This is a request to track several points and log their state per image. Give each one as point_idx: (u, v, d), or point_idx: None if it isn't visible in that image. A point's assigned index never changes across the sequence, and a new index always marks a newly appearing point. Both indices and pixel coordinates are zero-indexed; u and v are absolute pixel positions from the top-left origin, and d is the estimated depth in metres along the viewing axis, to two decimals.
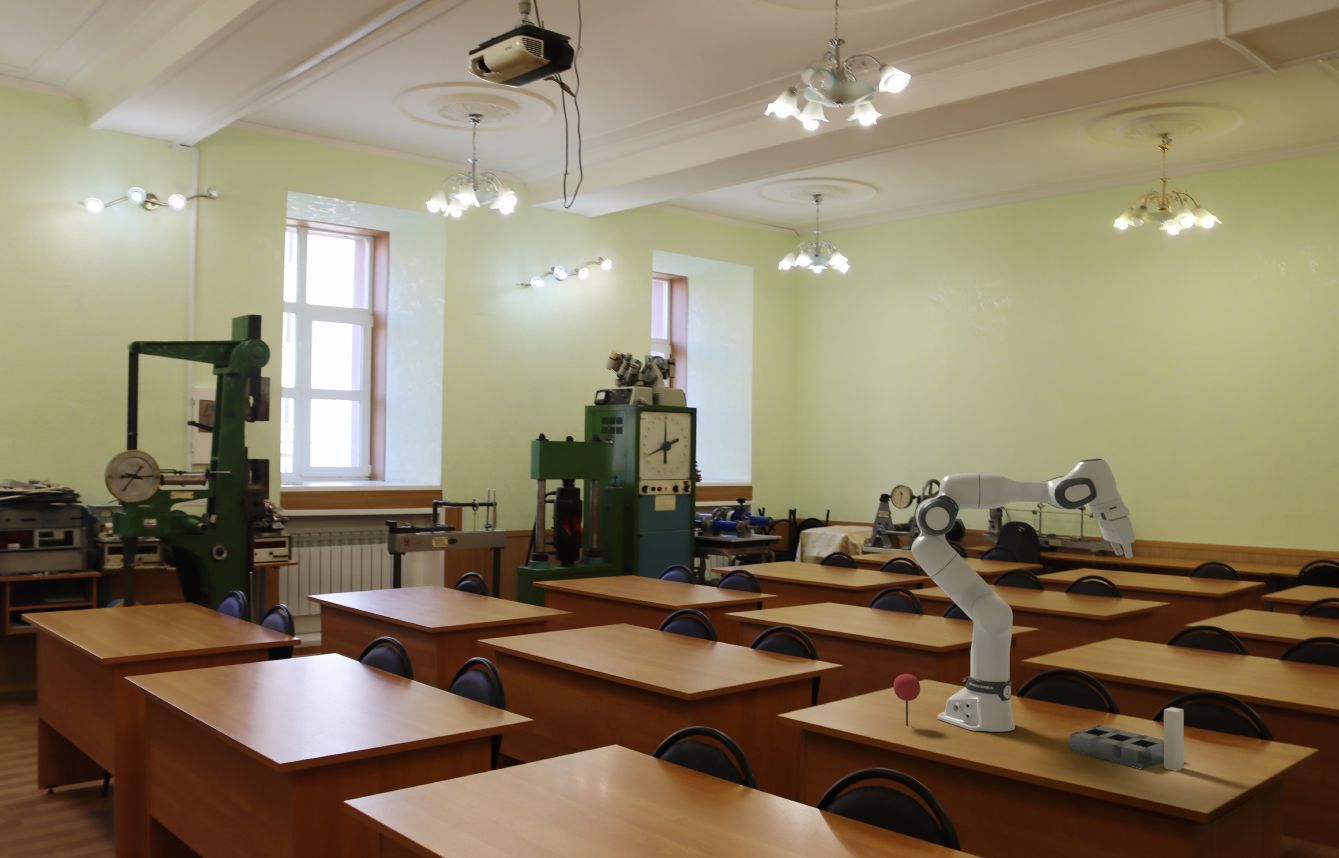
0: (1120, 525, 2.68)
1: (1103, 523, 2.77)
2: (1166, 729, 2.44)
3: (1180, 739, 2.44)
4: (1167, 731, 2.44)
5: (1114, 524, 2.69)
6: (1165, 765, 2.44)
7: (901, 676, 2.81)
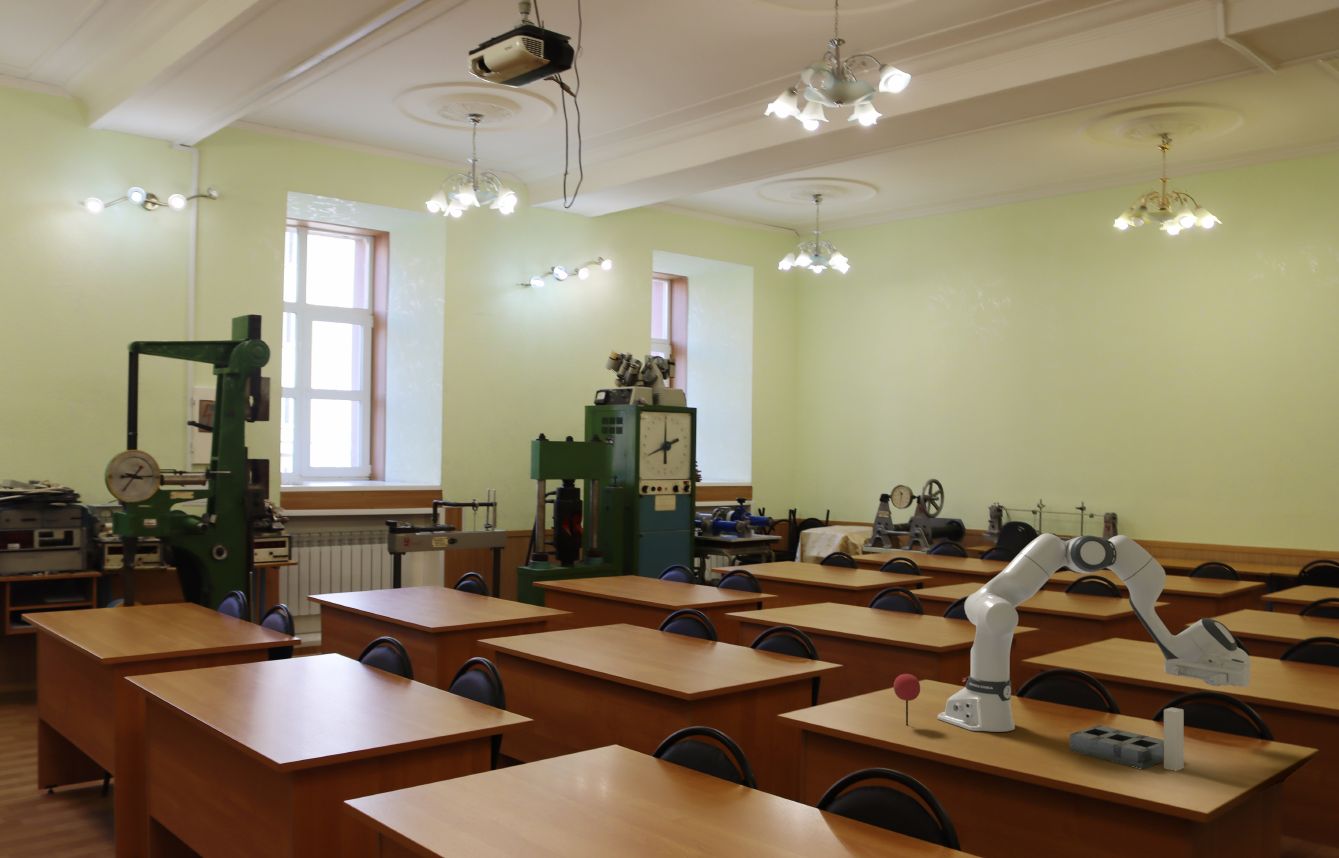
0: (1248, 674, 2.52)
1: (1215, 660, 2.59)
2: (1166, 729, 2.45)
3: (1180, 739, 2.44)
4: (1167, 731, 2.44)
5: (1247, 668, 2.53)
6: (1165, 765, 2.44)
7: (901, 676, 2.81)
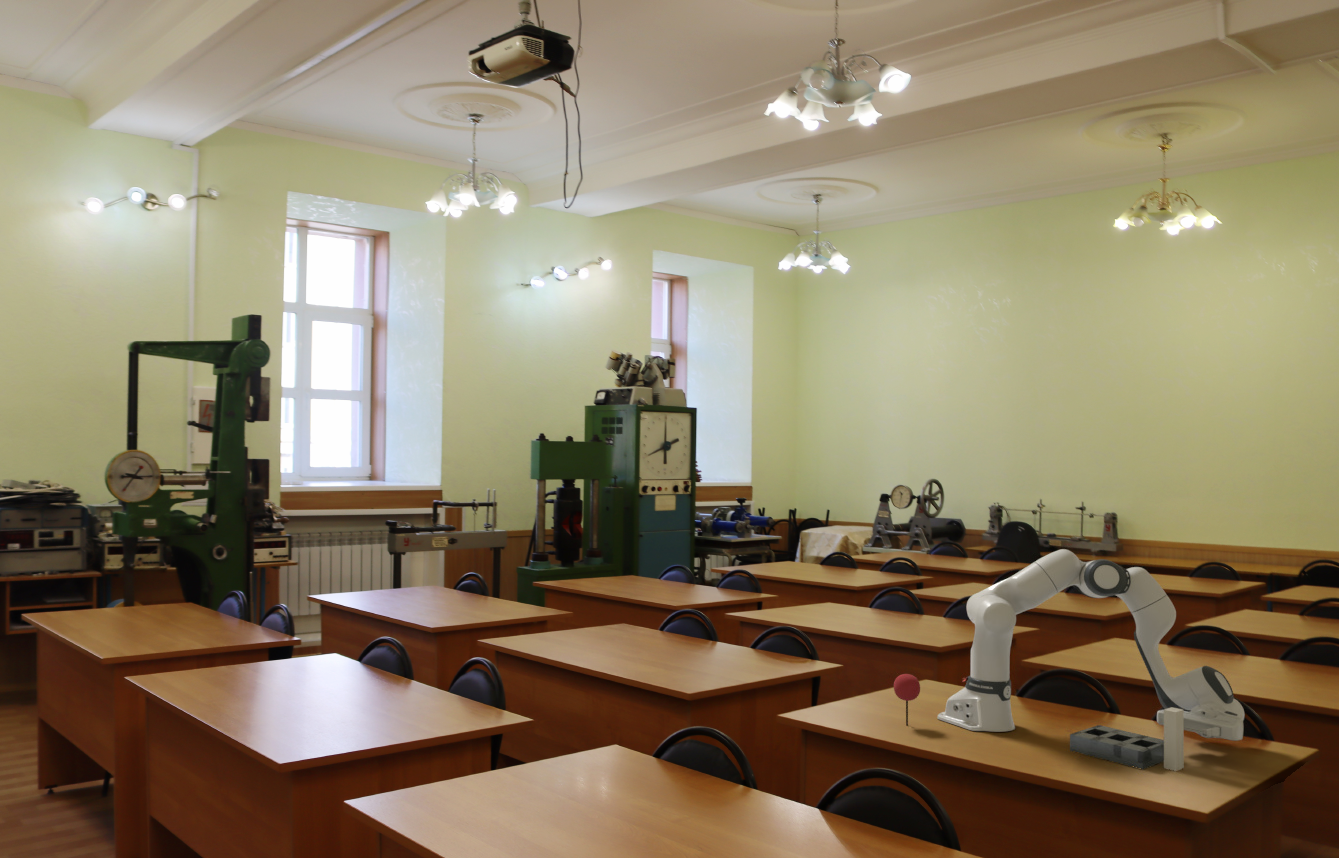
0: (1241, 728, 2.49)
1: (1208, 712, 2.56)
2: (1166, 729, 2.45)
3: (1180, 739, 2.44)
4: (1167, 731, 2.44)
5: (1241, 722, 2.50)
6: (1165, 765, 2.44)
7: (901, 676, 2.81)
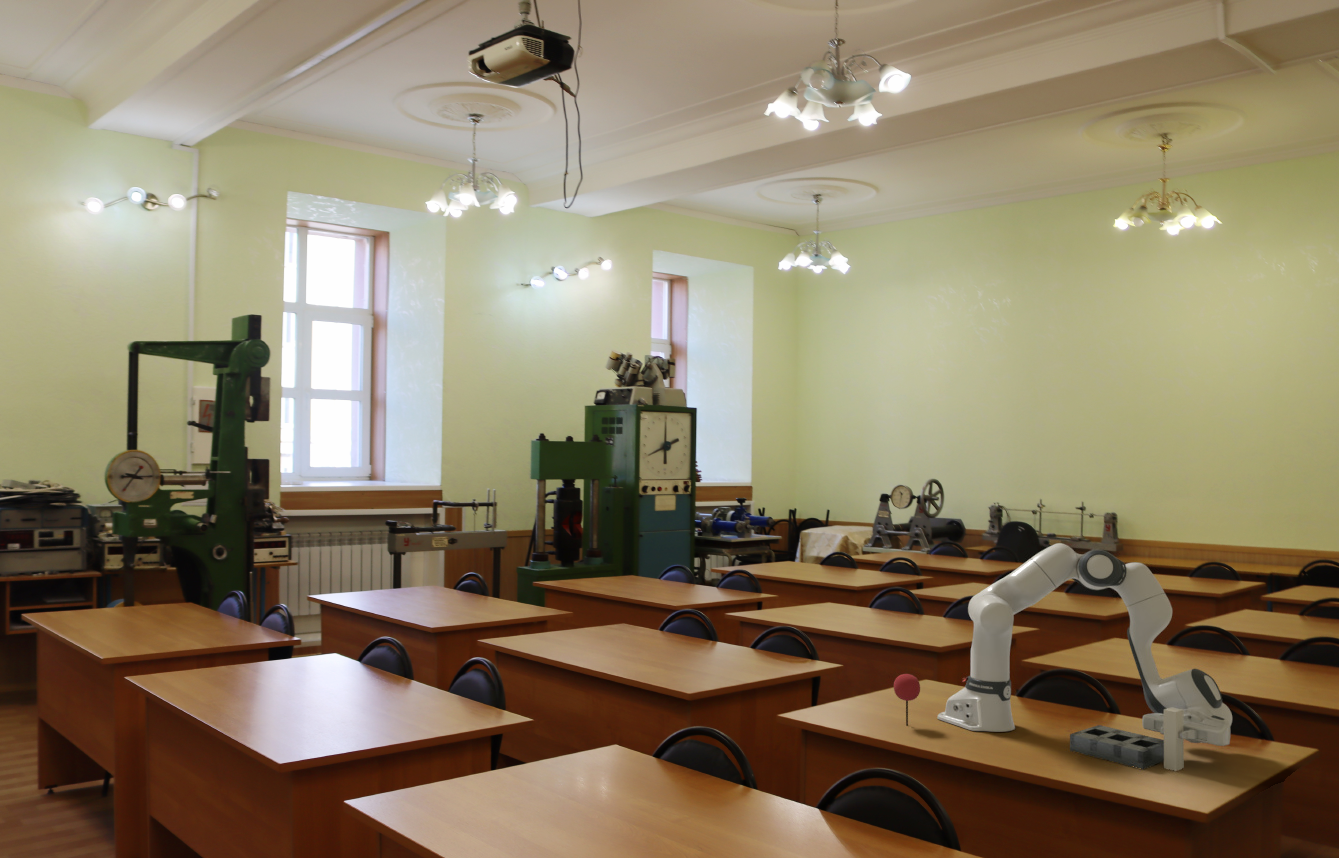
0: (1228, 733, 2.44)
1: (1195, 716, 2.51)
2: (1166, 729, 2.45)
3: (1180, 739, 2.44)
4: (1167, 731, 2.44)
5: (1227, 727, 2.44)
6: (1165, 765, 2.44)
7: (901, 676, 2.81)
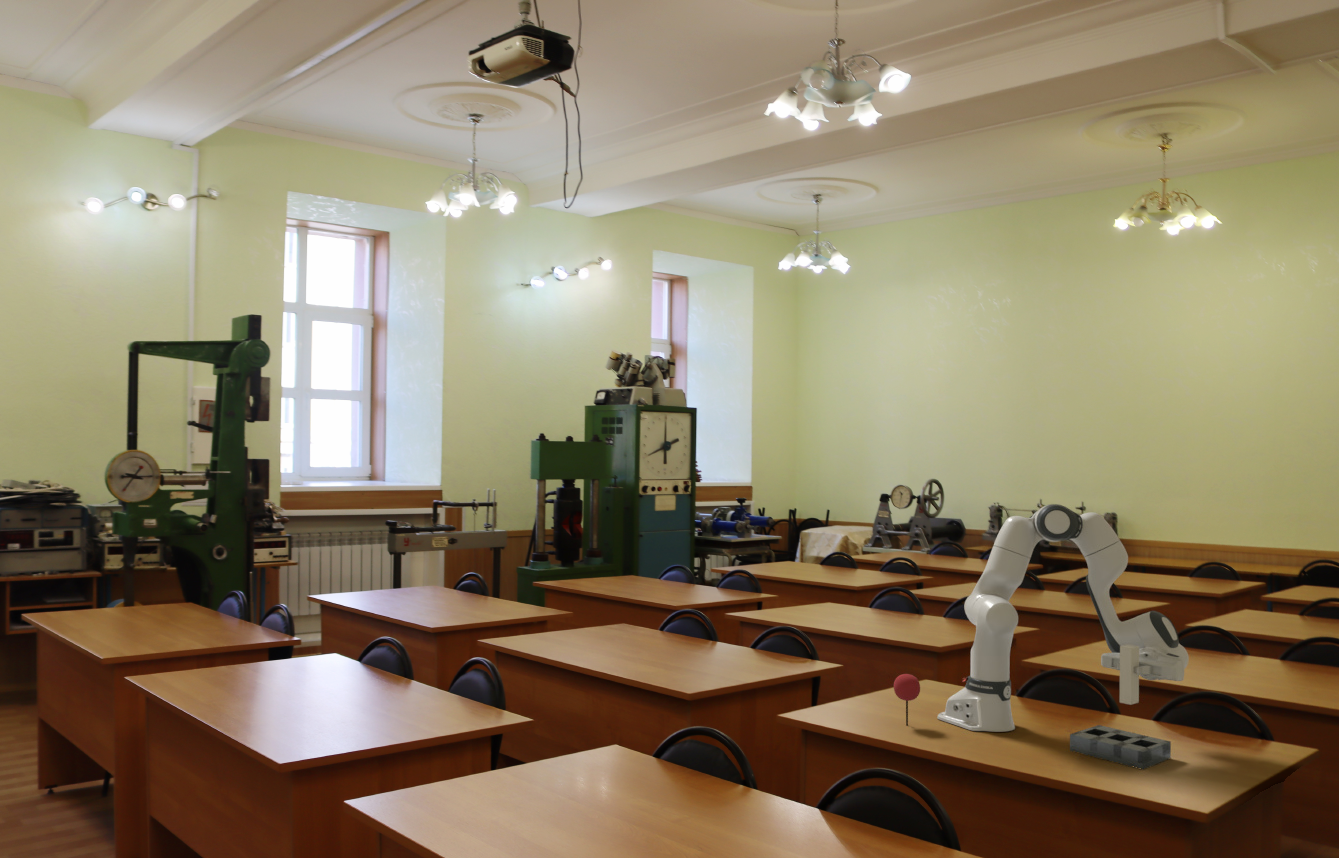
0: (1181, 668, 2.53)
1: (1151, 654, 2.60)
2: (1122, 664, 2.54)
3: (1135, 674, 2.53)
4: (1123, 666, 2.53)
5: (1181, 663, 2.53)
6: (1121, 699, 2.53)
7: (901, 676, 2.81)
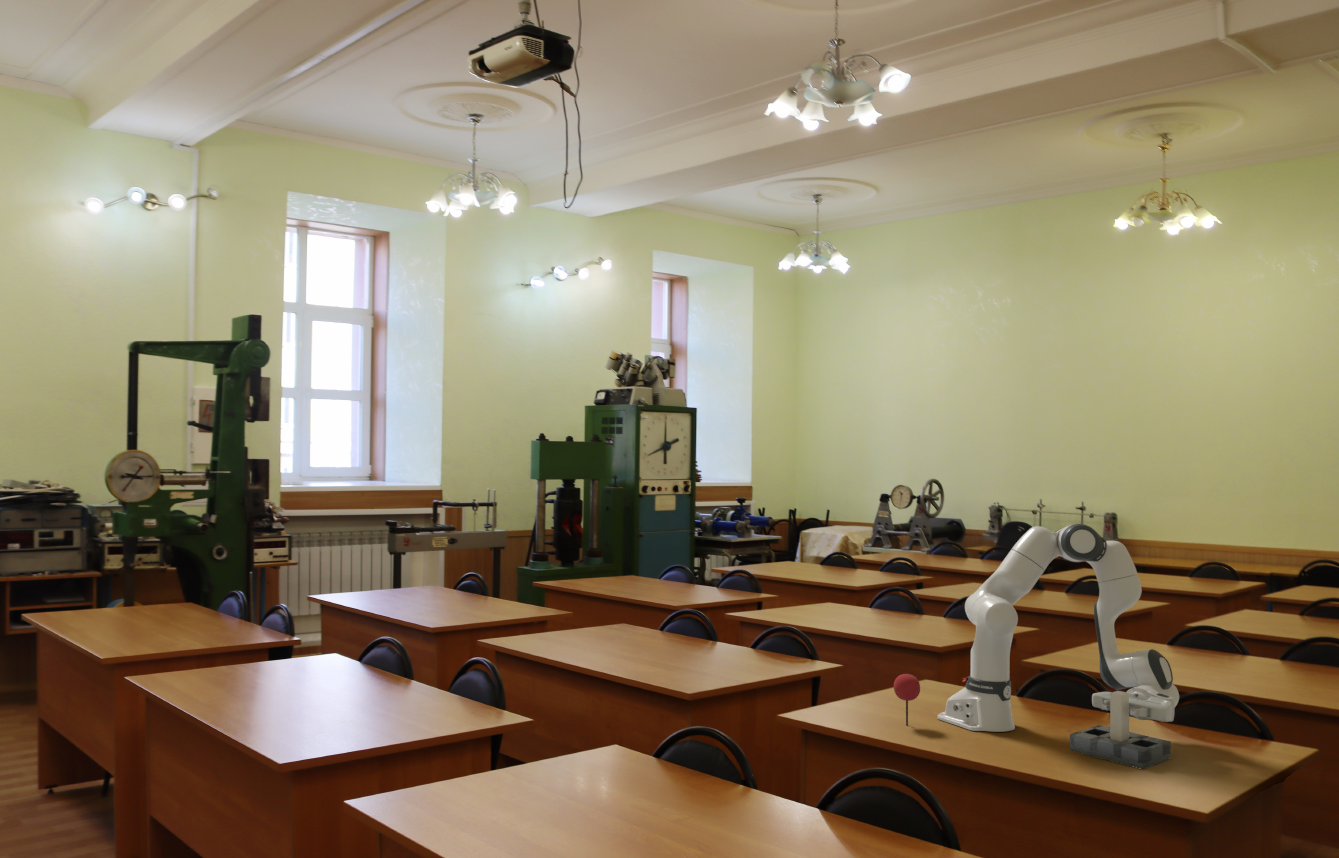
0: (1171, 709, 2.55)
1: (1141, 694, 2.62)
2: (1112, 711, 2.55)
3: (1126, 721, 2.55)
4: (1113, 713, 2.55)
5: (1171, 704, 2.55)
6: None
7: (901, 676, 2.81)
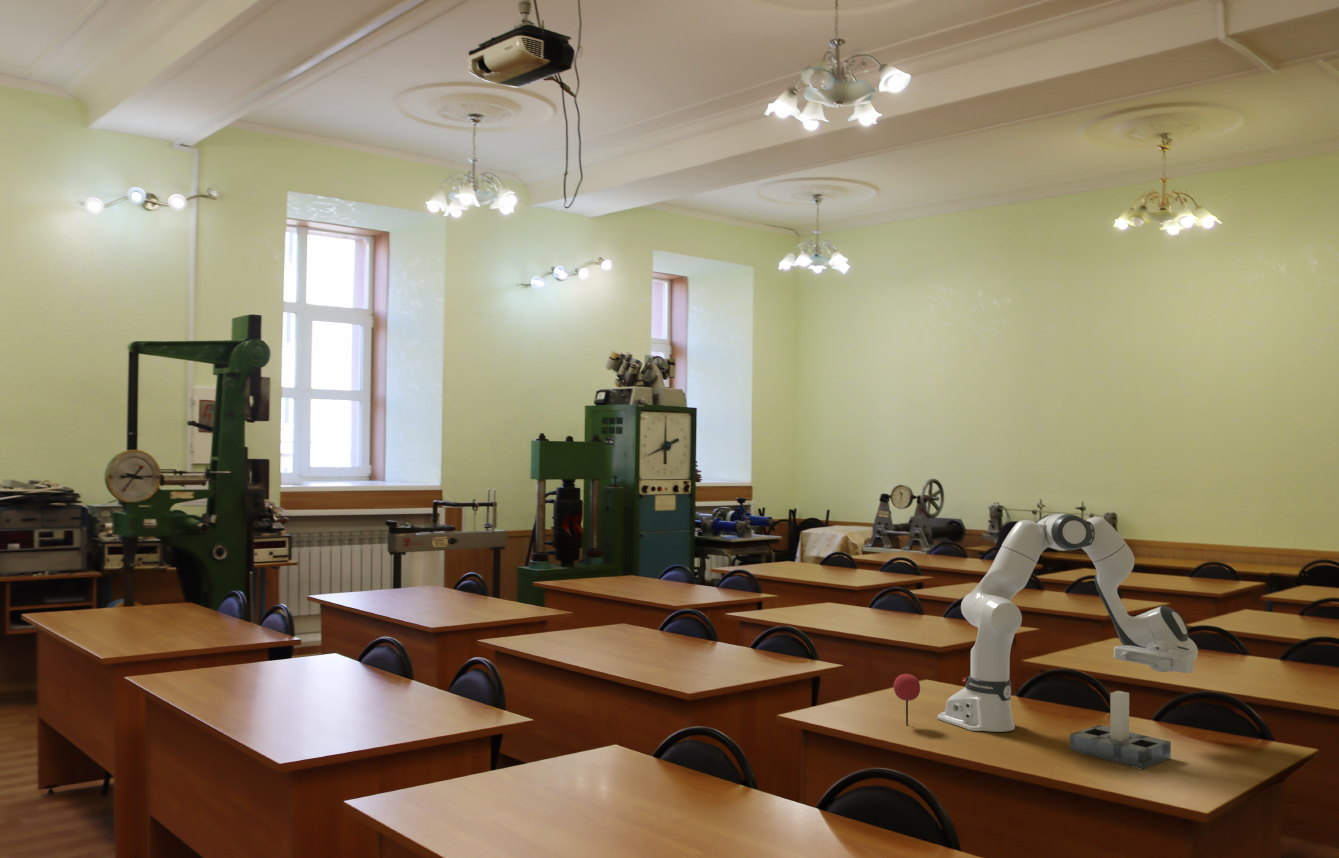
0: (1191, 661, 2.63)
1: (1162, 647, 2.70)
2: (1112, 711, 2.55)
3: (1126, 721, 2.55)
4: (1113, 713, 2.55)
5: (1191, 655, 2.64)
6: None
7: (901, 676, 2.81)
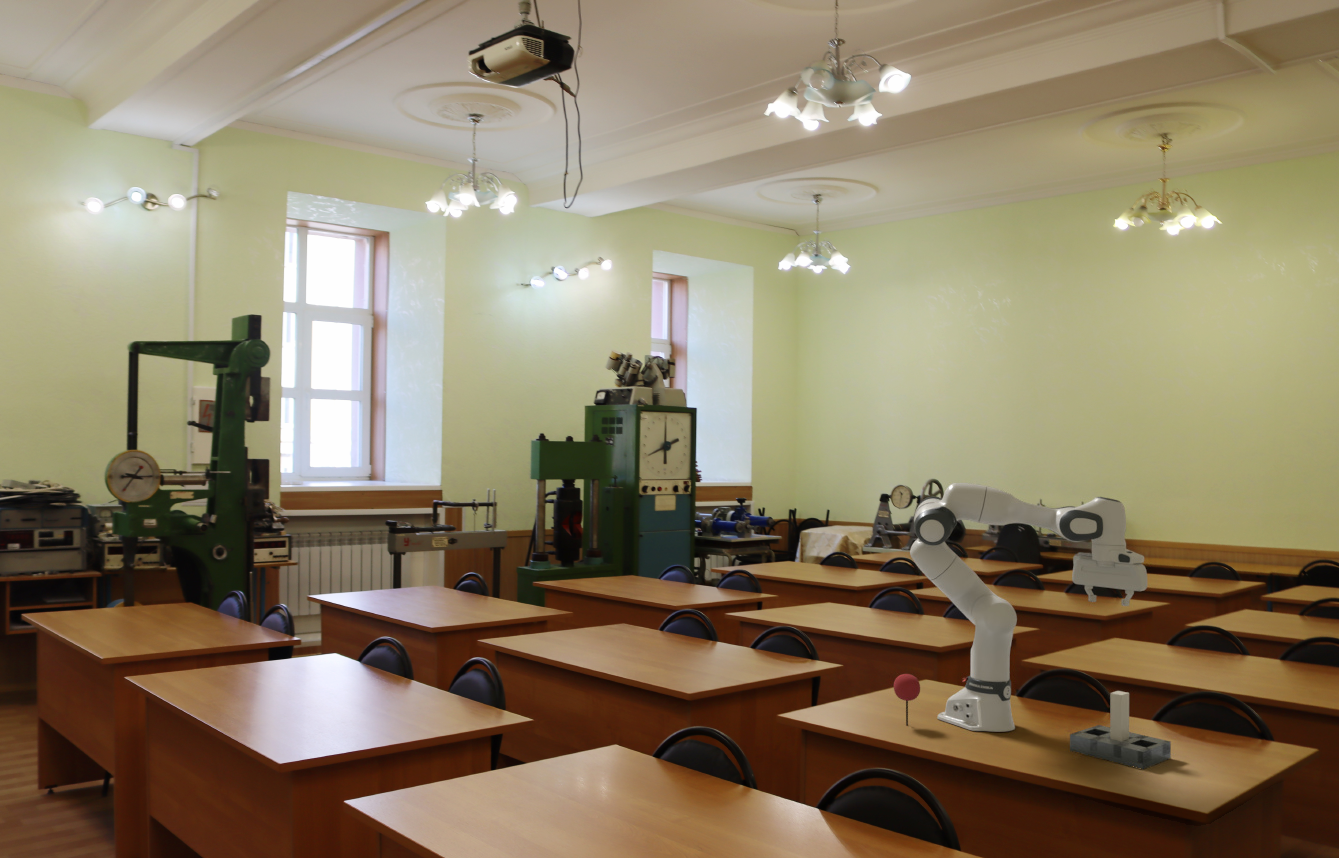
0: (1141, 571, 2.60)
1: (1108, 565, 2.65)
2: (1112, 711, 2.55)
3: (1126, 721, 2.55)
4: (1113, 713, 2.55)
5: (1138, 568, 2.60)
6: None
7: (901, 676, 2.81)
